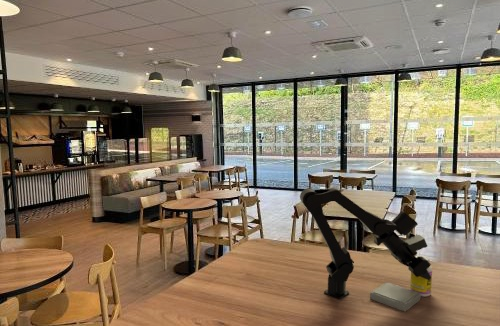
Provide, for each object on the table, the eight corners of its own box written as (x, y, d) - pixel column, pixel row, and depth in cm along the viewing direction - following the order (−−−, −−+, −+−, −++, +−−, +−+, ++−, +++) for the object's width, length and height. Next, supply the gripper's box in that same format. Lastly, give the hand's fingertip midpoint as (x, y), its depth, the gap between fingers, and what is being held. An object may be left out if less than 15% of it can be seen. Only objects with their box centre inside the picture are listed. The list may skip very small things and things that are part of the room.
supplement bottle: (428, 299, 122) (430, 262, 121) (407, 293, 126) (409, 258, 125) (432, 292, 128) (434, 257, 126) (412, 287, 132) (414, 253, 130)
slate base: (404, 311, 114) (405, 304, 114) (369, 298, 123) (370, 291, 122) (420, 299, 122) (420, 292, 122) (386, 288, 131) (386, 281, 131)
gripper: (425, 236, 115) (457, 269, 117) (400, 221, 134) (428, 250, 135) (400, 260, 116) (432, 292, 117) (378, 242, 134) (406, 270, 136)
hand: (425, 274), depth 126 cm, fingers closed on supplement bottle, 7 cm apart
